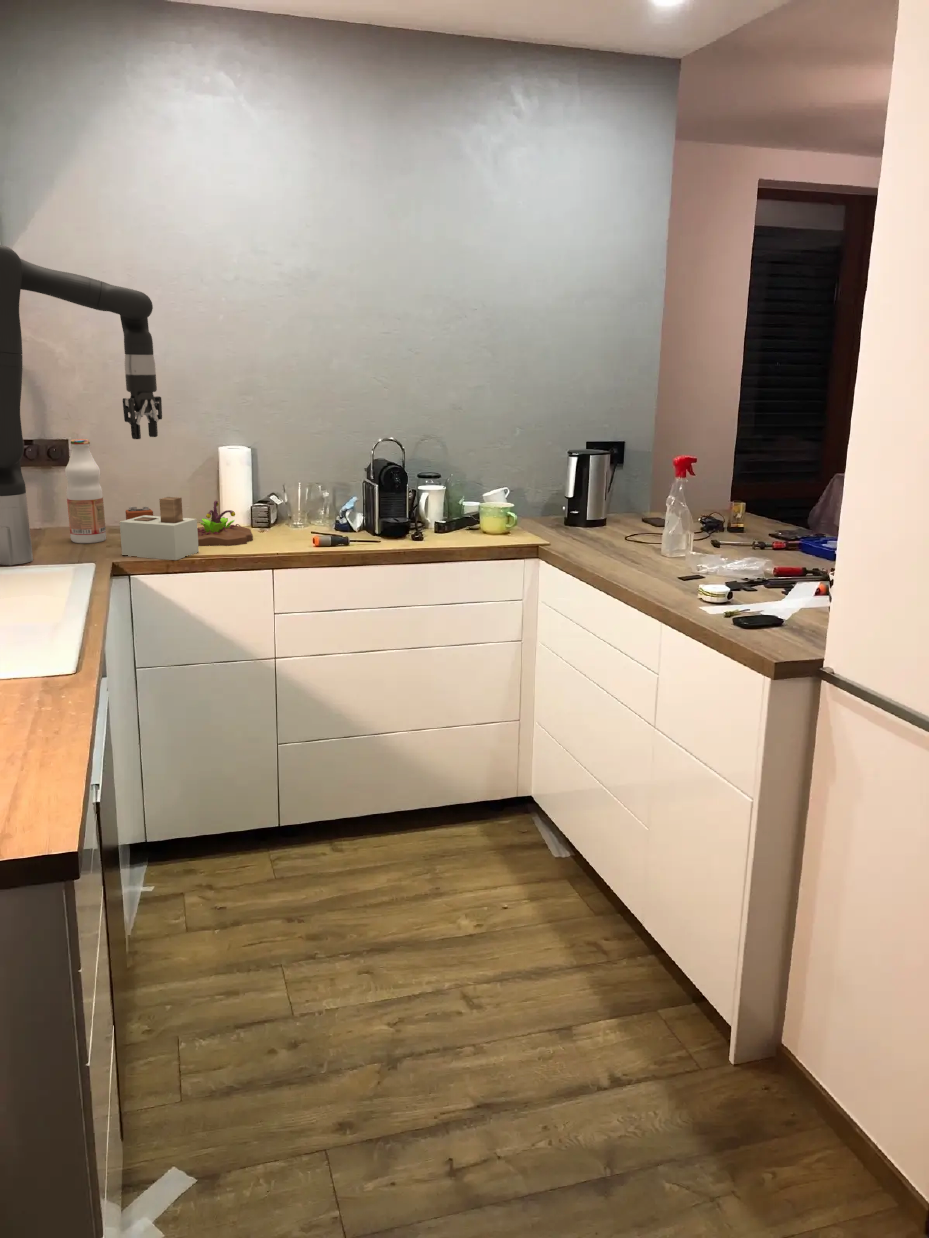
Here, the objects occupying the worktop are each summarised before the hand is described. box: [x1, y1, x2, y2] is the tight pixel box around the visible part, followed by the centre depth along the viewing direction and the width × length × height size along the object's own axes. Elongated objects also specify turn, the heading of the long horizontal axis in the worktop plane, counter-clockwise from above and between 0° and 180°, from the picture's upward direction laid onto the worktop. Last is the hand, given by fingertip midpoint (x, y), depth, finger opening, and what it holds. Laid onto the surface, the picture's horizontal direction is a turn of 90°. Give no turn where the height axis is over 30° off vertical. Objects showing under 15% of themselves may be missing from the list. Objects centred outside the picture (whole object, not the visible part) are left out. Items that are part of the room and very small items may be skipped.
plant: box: [197, 500, 254, 547], centre depth 281 cm, size 20×20×11 cm
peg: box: [158, 496, 184, 523], centre depth 258 cm, size 4×4×9 cm
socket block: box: [119, 515, 200, 561], centre depth 261 cm, size 11×16×9 cm
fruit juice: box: [64, 438, 107, 544], centre depth 274 cm, size 9×9×28 cm
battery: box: [125, 506, 154, 520], centre depth 275 cm, size 4×7×10 cm, turn 118°
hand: (145, 437), depth 259 cm, fingers open, 7 cm apart
